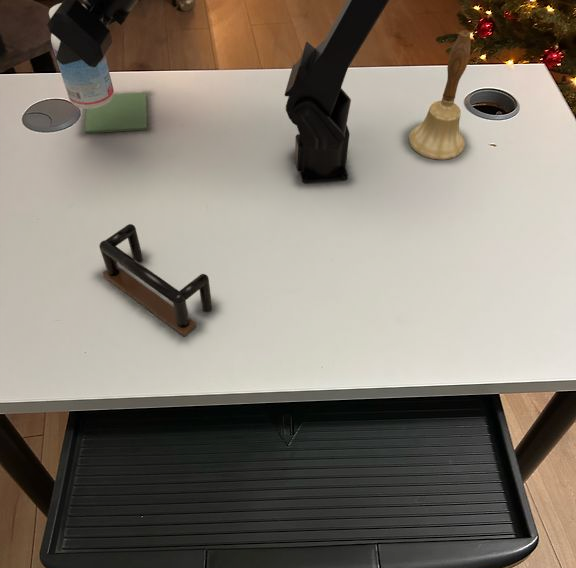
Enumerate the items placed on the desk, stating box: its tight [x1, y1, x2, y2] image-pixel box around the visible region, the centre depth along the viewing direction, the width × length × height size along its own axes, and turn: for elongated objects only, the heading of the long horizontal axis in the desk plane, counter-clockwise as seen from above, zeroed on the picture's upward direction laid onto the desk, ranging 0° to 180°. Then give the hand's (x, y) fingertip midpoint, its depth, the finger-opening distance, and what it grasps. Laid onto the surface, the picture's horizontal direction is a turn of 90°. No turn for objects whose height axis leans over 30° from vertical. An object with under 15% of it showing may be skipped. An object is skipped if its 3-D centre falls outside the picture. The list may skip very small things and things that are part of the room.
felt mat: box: [84, 92, 148, 134], centre depth 92 cm, size 9×9×1 cm
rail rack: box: [98, 223, 213, 337], centre depth 70 cm, size 5×14×6 cm, turn 50°
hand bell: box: [408, 30, 471, 161], centre depth 83 cm, size 8×8×16 cm
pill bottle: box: [48, 2, 115, 110], centre depth 78 cm, size 6×6×11 cm
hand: (68, 47), depth 77 cm, fingers closed on pill bottle, 6 cm apart
